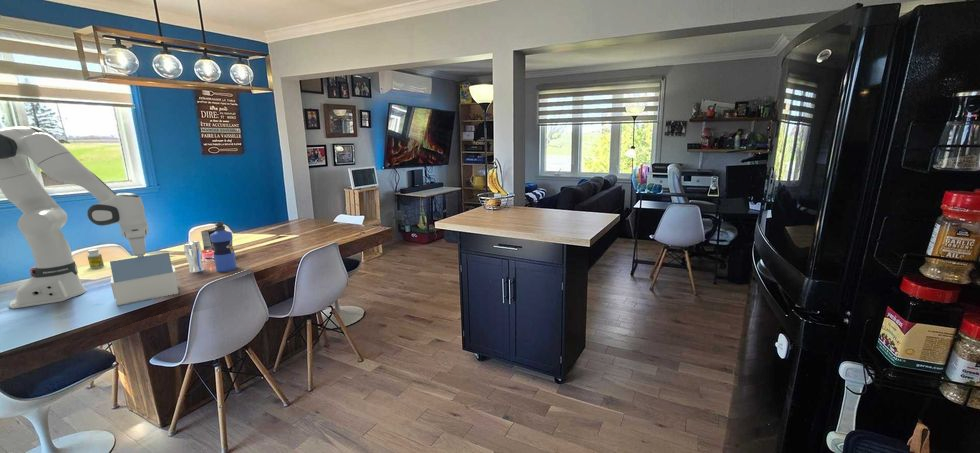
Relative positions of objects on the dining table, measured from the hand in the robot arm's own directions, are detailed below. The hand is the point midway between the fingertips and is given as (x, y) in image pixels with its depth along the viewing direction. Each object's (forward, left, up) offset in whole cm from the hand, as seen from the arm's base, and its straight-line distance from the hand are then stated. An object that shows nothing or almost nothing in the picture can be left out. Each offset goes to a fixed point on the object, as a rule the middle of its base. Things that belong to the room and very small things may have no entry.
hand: (141, 261), depth 177 cm
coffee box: (+32, +45, -14) cm, 57 cm away
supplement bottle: (-19, +68, -14) cm, 72 cm away
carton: (0, -5, -14) cm, 15 cm away
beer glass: (+20, +21, -14) cm, 32 cm away
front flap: (0, -10, 0) cm, 10 cm away
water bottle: (+32, +13, -14) cm, 37 cm away
